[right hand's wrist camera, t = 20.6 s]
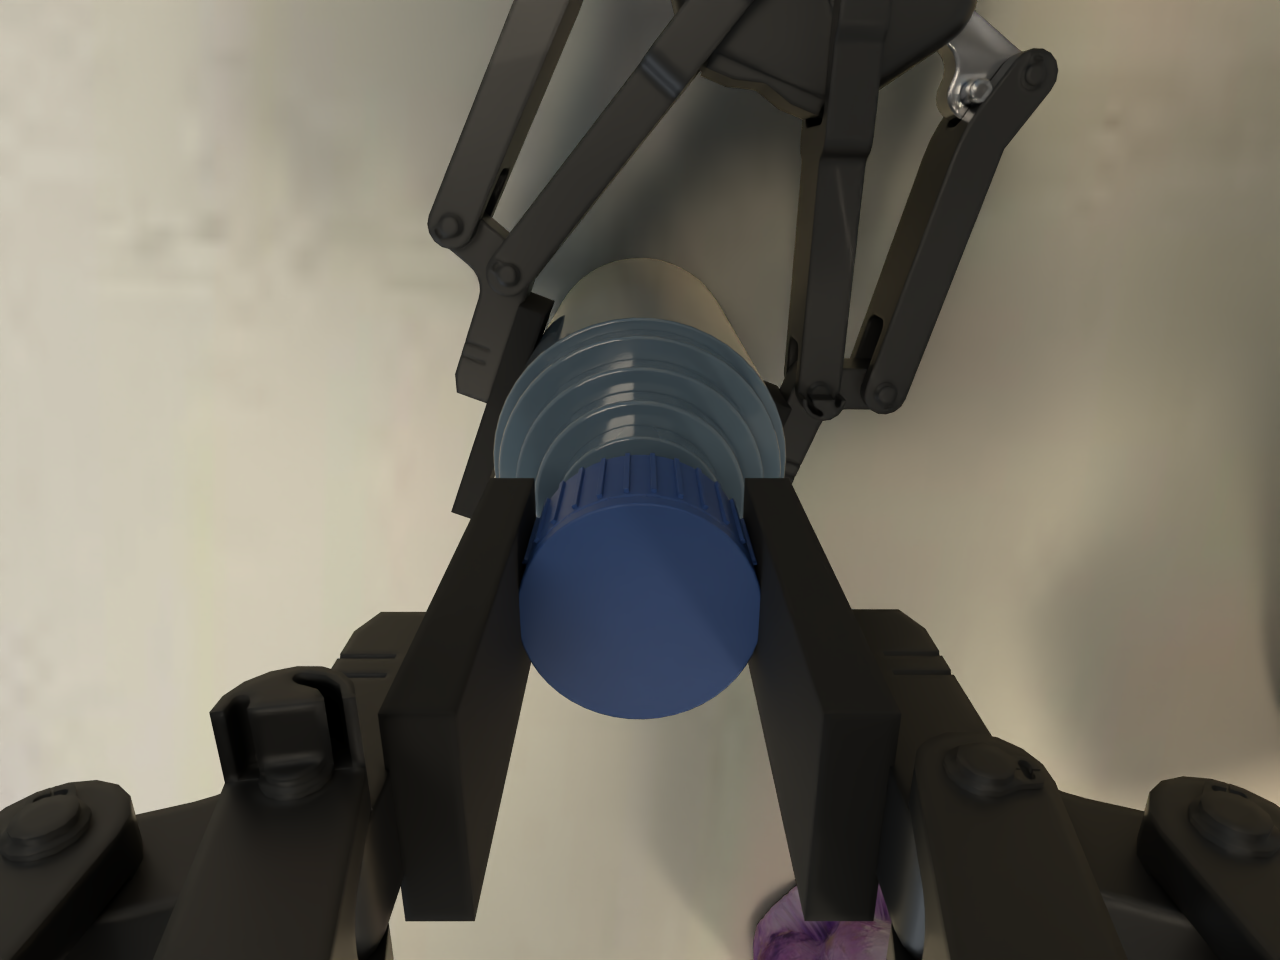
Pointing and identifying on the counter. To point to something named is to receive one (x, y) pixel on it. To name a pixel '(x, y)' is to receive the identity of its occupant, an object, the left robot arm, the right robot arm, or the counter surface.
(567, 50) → the counter surface
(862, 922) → the figurine
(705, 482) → the cap
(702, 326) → the bottle
